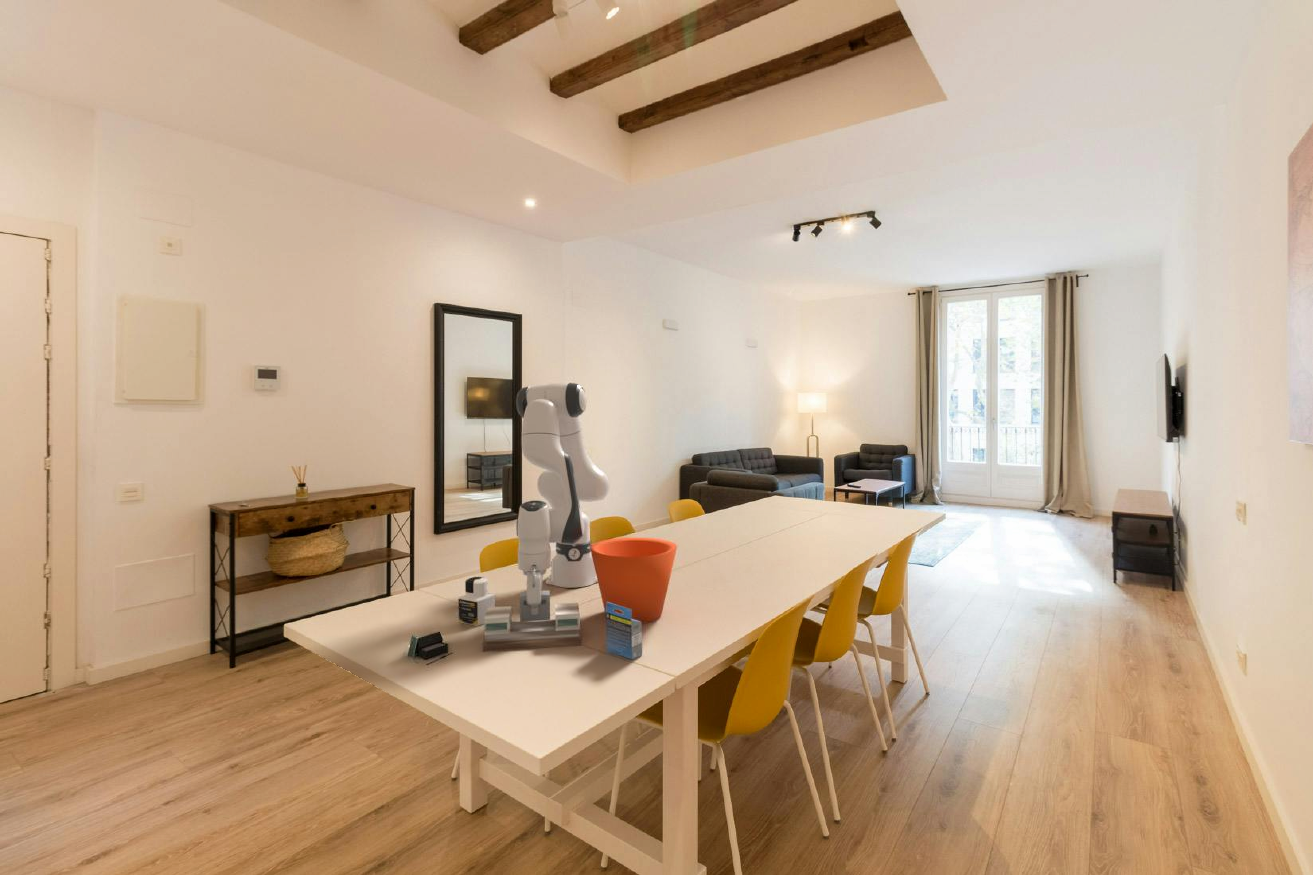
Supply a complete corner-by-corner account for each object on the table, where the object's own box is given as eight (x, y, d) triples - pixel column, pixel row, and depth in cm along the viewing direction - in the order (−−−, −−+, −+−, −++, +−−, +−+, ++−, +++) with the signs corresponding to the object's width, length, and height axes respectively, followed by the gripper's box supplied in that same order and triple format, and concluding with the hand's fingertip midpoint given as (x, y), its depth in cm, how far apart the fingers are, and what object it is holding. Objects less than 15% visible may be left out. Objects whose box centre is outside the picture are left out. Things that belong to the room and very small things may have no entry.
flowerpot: (668, 632, 164) (668, 558, 163) (578, 626, 169) (578, 554, 168) (683, 603, 188) (683, 539, 187) (604, 598, 193) (604, 535, 192)
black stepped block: (442, 639, 161) (441, 618, 160) (475, 653, 151) (475, 631, 151) (385, 657, 149) (385, 634, 149) (418, 673, 140) (418, 649, 139)
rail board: (487, 633, 163) (487, 605, 163) (579, 628, 167) (579, 600, 167) (482, 651, 151) (482, 621, 151) (581, 644, 155) (581, 615, 155)
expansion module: (520, 620, 171) (520, 591, 171) (550, 618, 173) (549, 590, 172) (520, 625, 167) (519, 596, 167) (550, 623, 168) (549, 595, 168)
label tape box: (643, 655, 149) (642, 605, 148) (631, 660, 145) (631, 609, 145) (616, 646, 154) (616, 597, 154) (605, 651, 151) (604, 601, 151)
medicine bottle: (458, 622, 172) (457, 579, 171) (476, 614, 178) (476, 573, 178) (477, 626, 168) (476, 583, 168) (495, 618, 175) (495, 576, 174)
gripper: (545, 570, 160) (546, 623, 160) (546, 551, 180) (547, 598, 180) (520, 571, 158) (521, 624, 159) (524, 552, 179) (525, 600, 179)
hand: (535, 610), depth 170 cm, fingers closed on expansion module, 4 cm apart
